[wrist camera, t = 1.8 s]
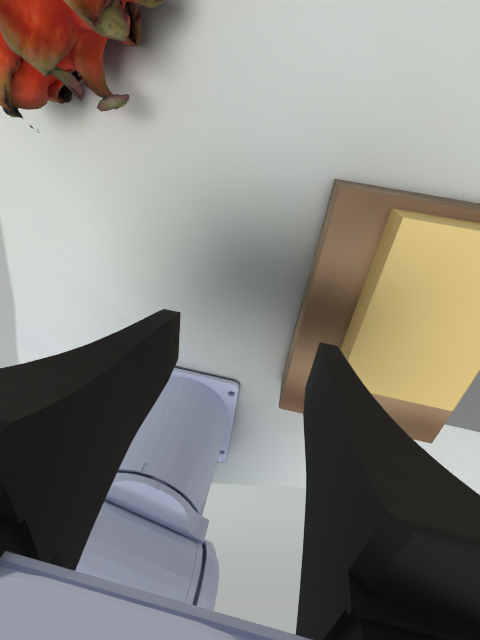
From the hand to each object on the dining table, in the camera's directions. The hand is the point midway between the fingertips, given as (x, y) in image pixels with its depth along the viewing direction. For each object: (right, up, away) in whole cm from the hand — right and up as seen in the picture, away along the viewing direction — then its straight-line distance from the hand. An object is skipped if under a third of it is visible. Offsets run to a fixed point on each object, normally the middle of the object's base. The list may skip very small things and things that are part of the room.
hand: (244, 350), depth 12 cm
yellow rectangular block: (+9, +2, +5) cm, 11 cm away
